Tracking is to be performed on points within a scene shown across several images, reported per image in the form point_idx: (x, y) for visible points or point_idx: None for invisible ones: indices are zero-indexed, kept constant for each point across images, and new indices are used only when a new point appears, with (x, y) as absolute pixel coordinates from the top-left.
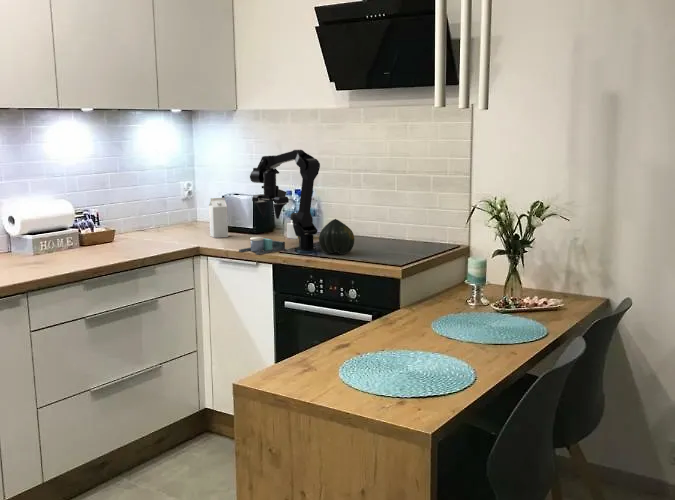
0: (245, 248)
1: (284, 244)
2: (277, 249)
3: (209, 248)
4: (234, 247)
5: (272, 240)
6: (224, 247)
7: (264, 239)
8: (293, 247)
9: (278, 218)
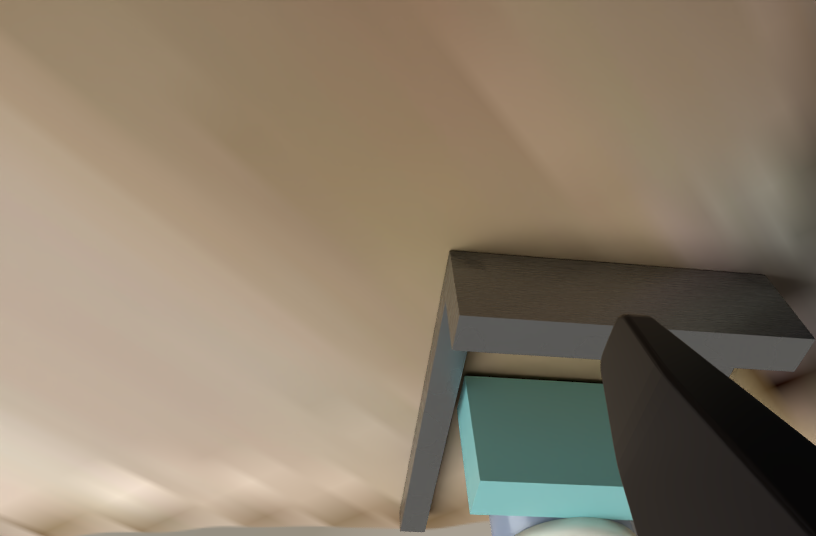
0: (415, 487)
1: (795, 321)
2: (724, 373)
3: (53, 528)
4: (174, 417)
5: (603, 341)
6: (99, 455)
7: (629, 517)
8: (811, 92)
9: (645, 328)
